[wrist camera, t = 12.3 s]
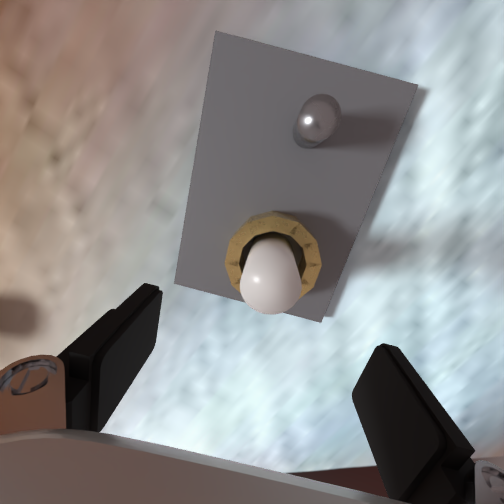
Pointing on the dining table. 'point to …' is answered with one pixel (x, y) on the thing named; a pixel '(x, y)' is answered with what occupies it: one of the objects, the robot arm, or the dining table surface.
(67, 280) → the dining table surface
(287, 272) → the white rounded peg
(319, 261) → the brass socket
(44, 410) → the robot arm
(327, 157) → the fitting board
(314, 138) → the small stub
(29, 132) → the dining table surface
